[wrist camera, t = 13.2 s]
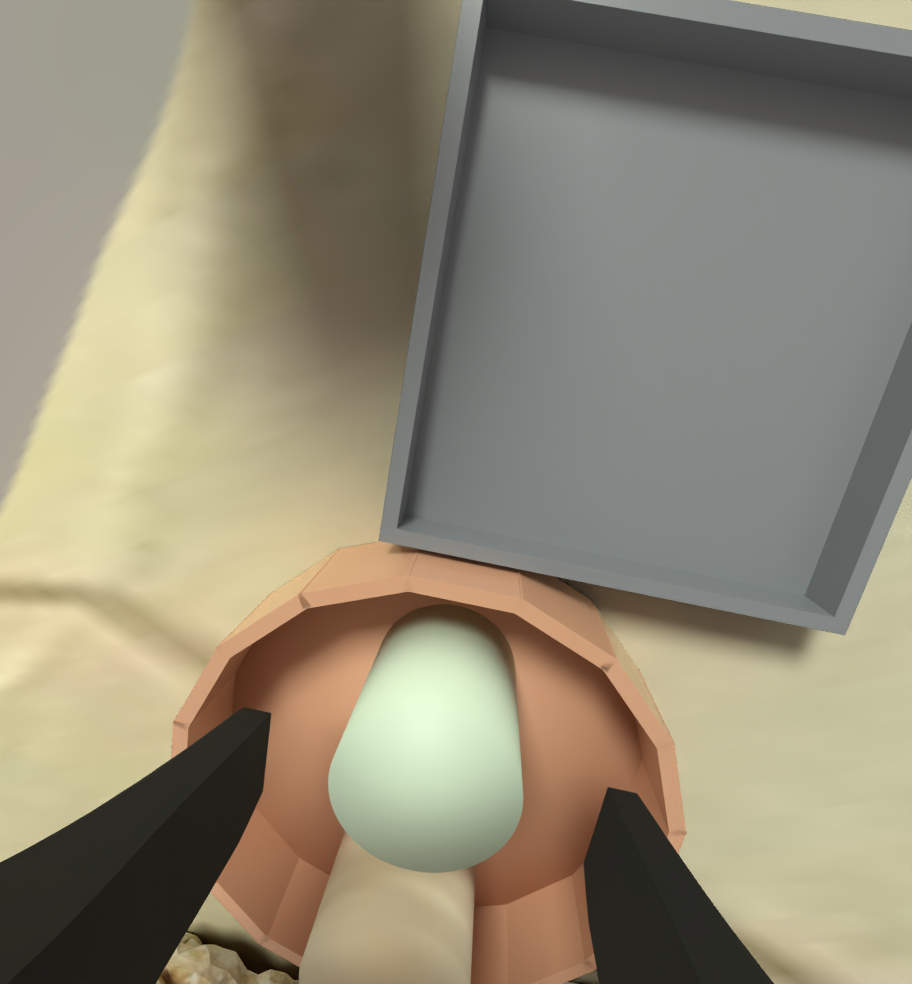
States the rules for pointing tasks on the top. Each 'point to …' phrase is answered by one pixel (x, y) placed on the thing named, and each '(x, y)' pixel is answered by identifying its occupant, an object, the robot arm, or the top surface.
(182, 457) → the top surface
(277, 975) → the mineral formation
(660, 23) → the tray
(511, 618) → the bowl
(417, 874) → the beige rounded cylinder
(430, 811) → the mint green rounded cylinder
